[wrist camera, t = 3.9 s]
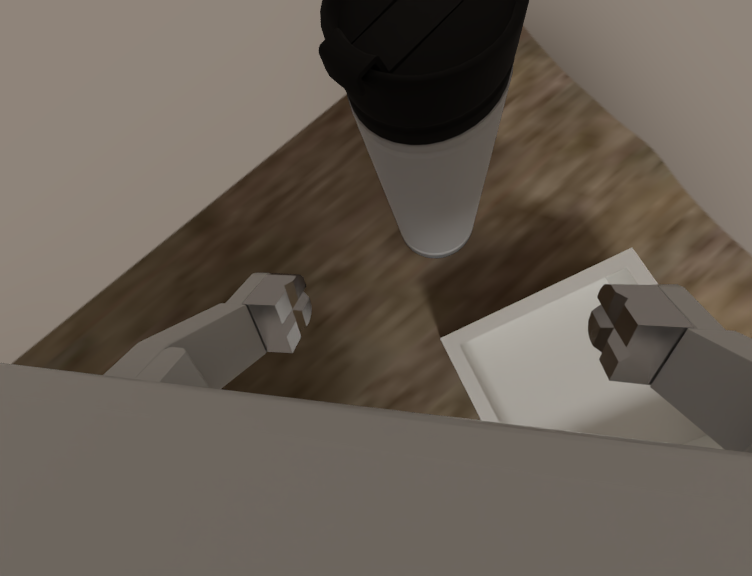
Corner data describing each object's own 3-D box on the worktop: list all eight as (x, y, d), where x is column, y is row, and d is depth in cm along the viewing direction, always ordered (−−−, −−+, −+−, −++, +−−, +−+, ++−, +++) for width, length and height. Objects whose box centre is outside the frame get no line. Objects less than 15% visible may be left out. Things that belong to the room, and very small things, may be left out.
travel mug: (384, 230, 29) (265, 15, 10) (435, 178, 29) (416, -149, 10) (434, 276, 27) (411, 127, 8) (488, 221, 27) (597, -68, 8)
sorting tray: (722, 438, 22) (782, 459, 18) (528, 513, 23) (545, 547, 19) (602, 261, 25) (631, 247, 21) (440, 338, 27) (440, 338, 23)
